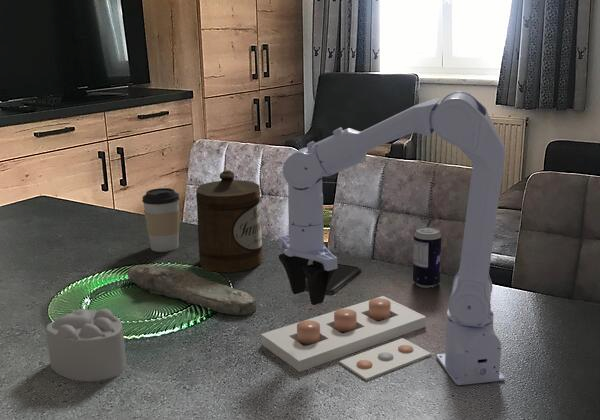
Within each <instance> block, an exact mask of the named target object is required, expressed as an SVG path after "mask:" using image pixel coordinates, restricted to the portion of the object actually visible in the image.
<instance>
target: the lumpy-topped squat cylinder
mask: <svg viewBox="0 0 600 420" xmlns="http://www.w3.org/2000/svg"><path fill="white" fill-rule="evenodd" d="M45 332H46V341H47V347H48V353H49V355H48V356H49V361H50V368H51V370H52V371H53V372H55V373H57V374H58V375H59V376H62V377H65V378H67V379H70V380H73V381H79V382H81V381H82V382H95V381H96V382H97V381H104V380H108V379H109V380H110V379H113V378H114V377H117V376H119V375H120V374H122V373H123V372H124V371H125V370H126V367H127V356H126V355H127V354H126V348H125V347H126V345H125V337H124V336H125V335H124V328H123V324H122V322H121V319H120V318H119V317H117V316H115V315H114V314H113V312H112V311H111V310H110V309H108V308H100V309H98V310H96V309H85V308H79V309H76V310H75V311H73V312H71V313H69V314H65V315H62V316H59V317H58V318H56V320H53V321H51V322H50V323H48V324H47V325H46V327H45Z"/></svg>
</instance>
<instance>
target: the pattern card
mask: <svg viewBox="0 0 600 420" xmlns="http://www.w3.org/2000/svg"><path fill="white" fill-rule="evenodd" d="M431 355H432V353H431V352H429V351H427V350H425V349H424V348H422V347H420V346H418V345H416V344H414V343H413V342H411V341H409V340H407V339H405V338H403V337H402V338H399V339H397V340H394V341H391V342H388V343H385V344H382V345H380V346H376V347H374V348H372V349H368V350H365V351H363V352H361V353H360V352H359V353H358V354H355V355H352V356H349V357H346V358H343V359H341V360H339V362H338V363H339V364H340V365H341V366H343V367H345V368H346V369H348V370H349V371H350V372H352V373H354V374H355V375H357V376H358V377H360V378H362V379H363V380H364V381H366V382H367V381H369V380H372V379H375V378H377V377H379V376H383V375H385V374H388V373H390V372H393V371H395V370H397V369H400V368H403V367H405V366H407V365H410V364H412V363H416V362H418V361H421V360H423V359H425V358H428V357H431Z"/></svg>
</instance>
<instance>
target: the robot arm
mask: <svg viewBox="0 0 600 420" xmlns="http://www.w3.org/2000/svg"><path fill="white" fill-rule="evenodd" d="M441 98H442V97H441V96H439V97H437V98H436V97H435V98H433V99H430V100H429V99H428V100H426V101H424V102H421V103H418V104H415V105H413V106H411V107H409V108H406V109H405V110H403V111H400V112H399V113H396V114H395V115H393V116H390V117H388V118H386V119H384V120H382V121H380V122H378V123H376V124H373V125H372V126H370V127H368V128H366V129H364V130H362V131H361V130H360V131H359V130H357V129H353V128H350V127H348V128H345V129H343V127H338V128H336V129H335V130H333V131H332V135H330V136H328V137H326V138H324V139H322V140H319V141H316V142H315V141H314V140H312V141H310V142H308V143H306V147H302V148H300V149H298V150H297V151H295V152H294V153H292V154H291V155H289V156H288V157H287V159H286V160H285V161H284V163H283V166H282V174H283V178H284V180H285V181H286V183H287V188H288V189H287V190H288V191H287V194H288V195H287V206H288V211H287V212H288V234H287V235H283V236H279V237H278V247H279V248H280V249H282V250H283V249H284V250H283V252H284V253H280V254H278V260H279V261H280V263H281V265H282V266H283V268H284V270H285V273H286V275H287V279H288V281H289V285H290V289H291V292H292V295H298V294H300V293H304V292H305V291H306V289H305V286H306V280H307V282H308V287H309V290H308V296H309V301H310V304H311V305H312V306H316V305H320V304H323V303H324V300H325V296H326V294H327V293H326V289H327V286H328V283H329V281H330V278H331V276H332V275H333V273H334V271H335V270H336V269H337V264H338V257H337V256H335V255H334V254H333V253H332V252H331V251H330V250H329V249H328V248H327V246H326V245H325V243H324V242H325V239H324V238H325V237H324V235H325V234H324V193H323V177H330V176H333V175H335V174H337V173H339V172H342V171H344V170H347V169H349V168H351V167H352V168H353V166H355V165H358V164H361V163H363V162H365V160H366V157H367V153H368V152H369V151H370V150H372V149H375V148H377V147H381V146H382V145H385V144H388V143H389V142H392V141H395V140H398V139H400V138H402V137H405V136H407V135H410V134H417V135H418V134H419V135H423V136H427V137H432V135H433V133H434V132H435V134H436V135H437V136H438V137H439V138H440V139H441V140H443V141H444V142H447V143H449V144H451V145H453V146H455V147H456V148H458V149H459V150H460V151H461V152H462V153H463V154H464V155H465V156H466V157H467V159H469V160H470V161H471V163H472V168H471V172H470V173H471V174H470V175H471V176H470V184H469V192H468V198H467V207H466V214H465V215H466V216H465V223H464V231H463V239H462V247H461V248H462V249H461V255H460V262H459V263H460V264H459V269H458V271H457V273H456V274H455V276H454V277H453V279H452V280H453V281H452V290H451V294H450V296H449V298H448V304H447V307H448V308H447V310H446V328H445V329H446V330H445V331H446V333H445V352H444V353H437V354H436V356H435V358H436V359H437V360H438V361H439V363H440V364H441V366H442V367H443V369H444V370H445V371H446V372H447V374H448V375H449V377H450V378H451V380H452V381H453V382H454V383H455V385H457V386H464V385H474V384H483V383H491V382H503V381H505V376H504V375H503V373H502V372H501V371H500V370H501V368H500V367H501V355H502V344H501V341H500V339H499V337H498V335H497V334H496V331H495V329H494V312H493V311H492V306H491V304H492V303H491V298H492V292H493V282H492V279H491V277H490V266H491V261H492V254H493V253H492V250H493V244H494V237H495V232H496V231H495V229H496V223H497V222H496V221H497V218H498V217H497V216H498V209H499V208H498V207H499V201H500V194H501V187H502V179H503V172H504V165H505V158H506V146H505V144H504V141H503V139H502V138H501V135H500V134H499V132H498V130H497V128H496V126H495V125H494V122H493V121H492V119H491V116H490V115H489V112H488V110H487V108H486V106H485V105H483V104H482V103H481V102H480V101H479V100H478V99H477V98H475V97H474V95H472V94H470V93H468V92H466V91H454V92H451V93H449V94H447V95H446V96H445V97H443V99H442V100H441ZM440 100H441V102H440ZM439 102H440V103H439ZM310 261H311V262H312V263H311V264H309V262H310Z"/></svg>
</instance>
